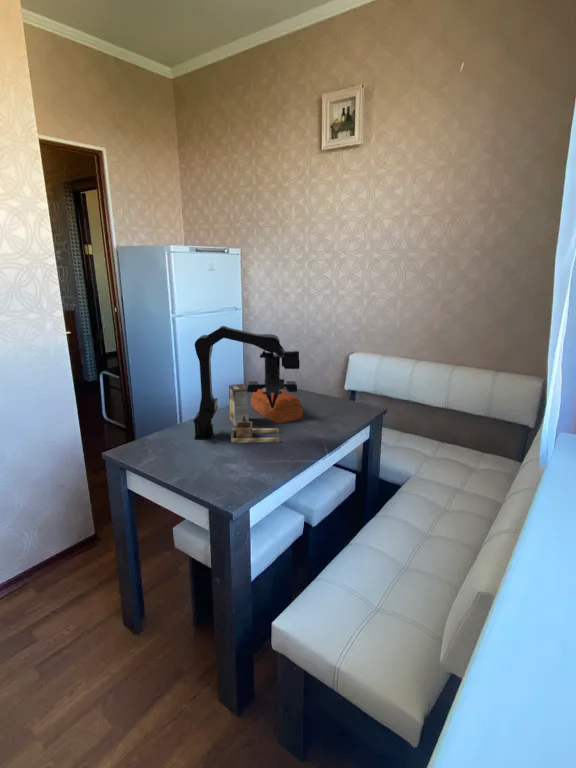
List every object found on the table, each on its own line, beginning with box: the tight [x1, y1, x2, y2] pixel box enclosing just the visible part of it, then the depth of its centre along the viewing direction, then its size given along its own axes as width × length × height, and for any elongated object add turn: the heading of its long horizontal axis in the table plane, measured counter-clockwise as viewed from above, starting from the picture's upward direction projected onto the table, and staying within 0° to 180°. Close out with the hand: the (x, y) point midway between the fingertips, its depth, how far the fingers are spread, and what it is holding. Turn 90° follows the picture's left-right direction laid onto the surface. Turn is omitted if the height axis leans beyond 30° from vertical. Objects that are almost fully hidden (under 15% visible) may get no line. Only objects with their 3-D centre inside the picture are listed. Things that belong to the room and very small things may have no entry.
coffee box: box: [228, 383, 250, 427], centre depth 179 cm, size 9×6×16 cm
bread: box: [250, 389, 304, 424], centre depth 191 cm, size 16×27×11 cm, turn 29°
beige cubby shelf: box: [230, 427, 280, 444], centre depth 164 cm, size 20×12×3 cm, turn 93°
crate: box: [235, 421, 253, 438], centre depth 164 cm, size 6×7×5 cm
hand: (272, 407), depth 164 cm, fingers closed
